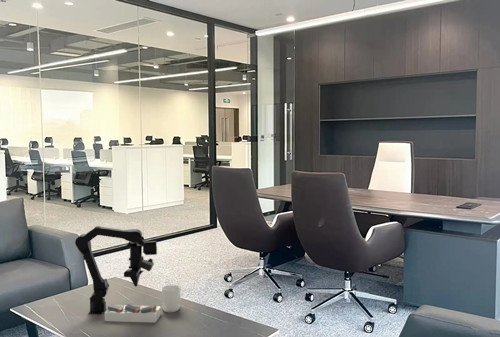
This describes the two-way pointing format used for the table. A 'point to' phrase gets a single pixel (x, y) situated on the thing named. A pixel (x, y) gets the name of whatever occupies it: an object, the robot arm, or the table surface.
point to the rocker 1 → (115, 308)
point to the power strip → (133, 315)
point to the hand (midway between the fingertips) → (135, 286)
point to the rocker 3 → (148, 309)
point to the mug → (171, 298)
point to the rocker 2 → (132, 308)
